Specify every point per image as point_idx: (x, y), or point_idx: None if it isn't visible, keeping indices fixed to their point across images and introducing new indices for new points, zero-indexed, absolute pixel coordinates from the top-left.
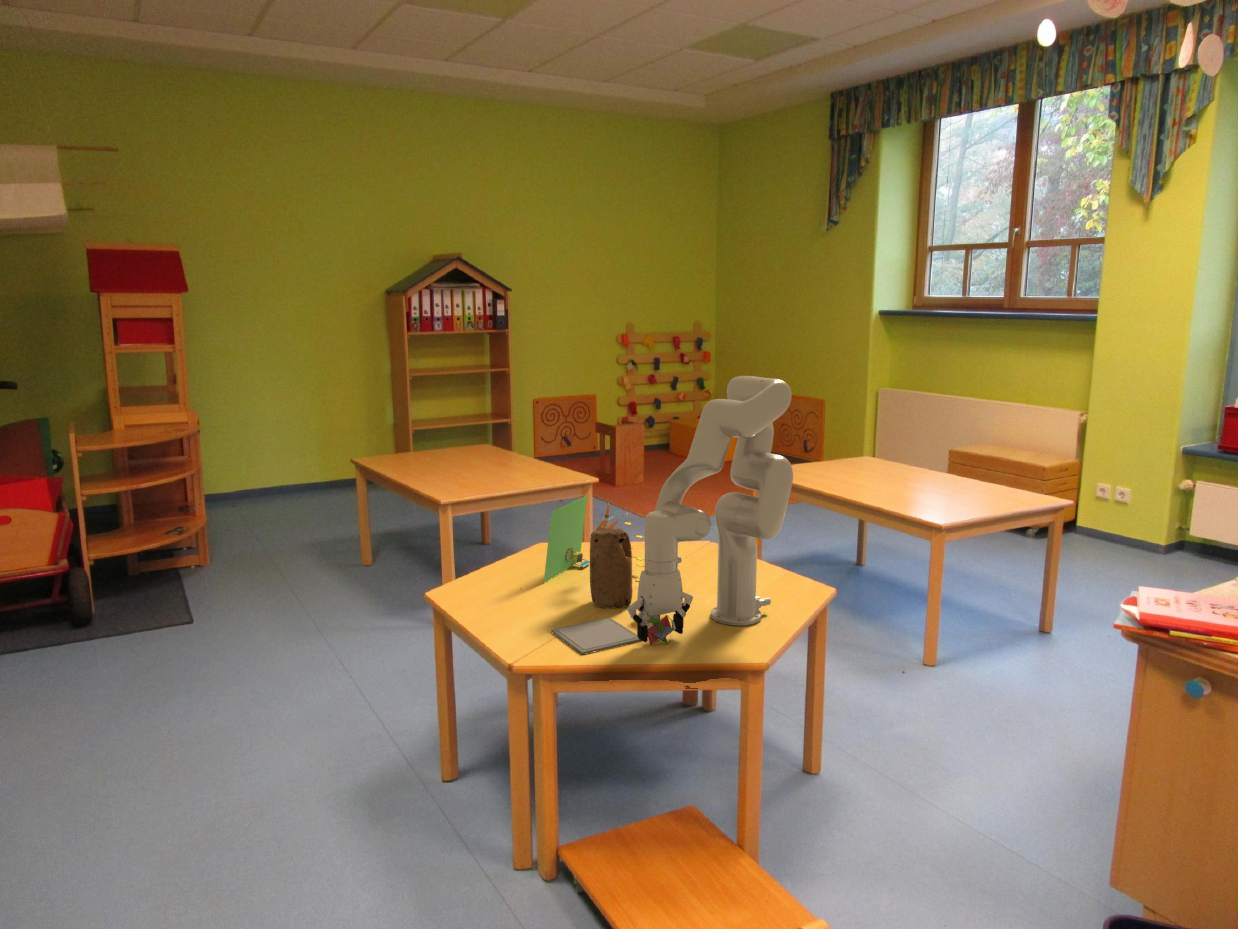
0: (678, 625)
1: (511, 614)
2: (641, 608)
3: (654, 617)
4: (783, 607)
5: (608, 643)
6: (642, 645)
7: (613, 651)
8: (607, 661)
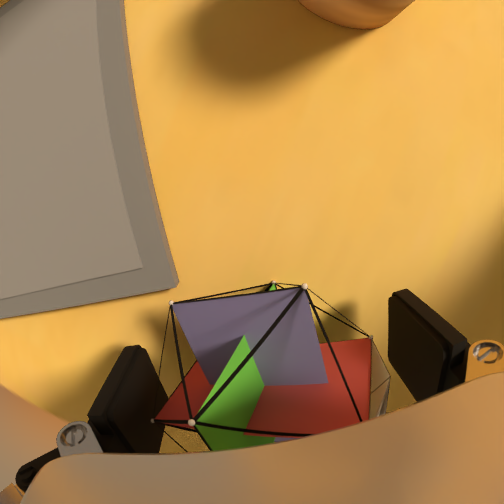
0: (409, 373)
1: None
2: (79, 473)
3: (365, 16)
4: None
5: (7, 293)
6: (161, 335)
7: (34, 342)
8: (27, 399)
